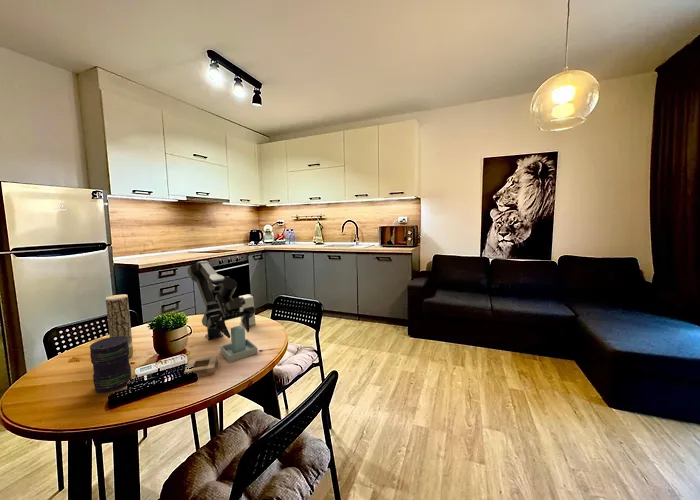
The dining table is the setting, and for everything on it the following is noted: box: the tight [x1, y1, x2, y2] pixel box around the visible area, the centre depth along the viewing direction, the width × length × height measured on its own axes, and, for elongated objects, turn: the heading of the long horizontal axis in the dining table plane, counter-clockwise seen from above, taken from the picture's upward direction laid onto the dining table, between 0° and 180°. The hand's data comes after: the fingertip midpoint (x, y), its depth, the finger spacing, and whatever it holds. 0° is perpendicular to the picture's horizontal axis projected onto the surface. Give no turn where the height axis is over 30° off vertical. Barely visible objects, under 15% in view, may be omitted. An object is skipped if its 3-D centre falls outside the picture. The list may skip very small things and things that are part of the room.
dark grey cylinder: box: [89, 336, 133, 395], centre depth 96 cm, size 10×10×15 cm
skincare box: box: [238, 293, 256, 327], centre depth 152 cm, size 8×6×15 cm
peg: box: [230, 325, 246, 353], centre depth 118 cm, size 4×4×10 cm
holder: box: [183, 355, 219, 378], centre depth 106 cm, size 9×9×2 cm
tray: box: [219, 338, 258, 363], centre depth 119 cm, size 11×11×3 cm
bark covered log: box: [105, 293, 134, 358], centre depth 115 cm, size 7×7×25 cm
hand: (239, 334), depth 117 cm, fingers open, 8 cm apart
